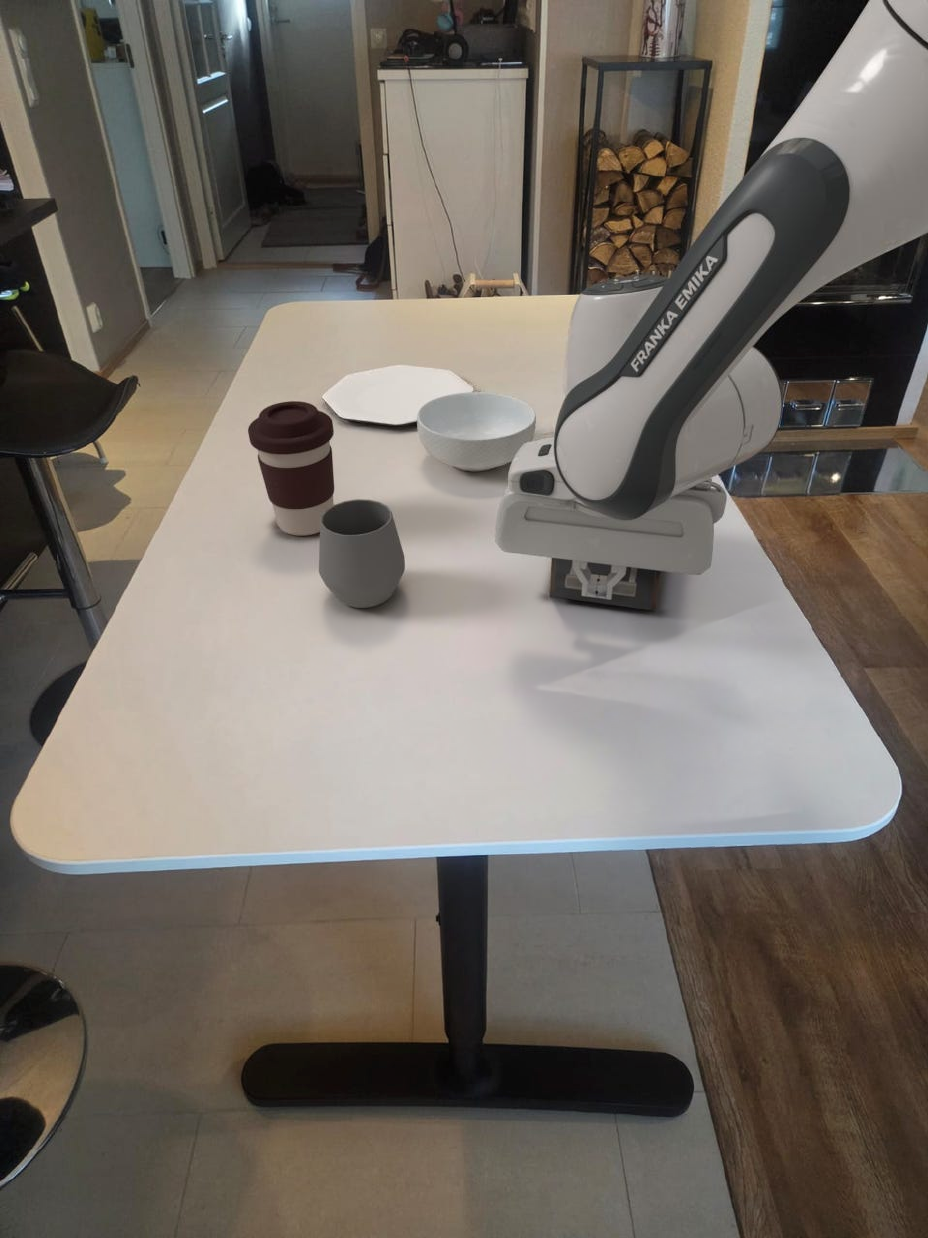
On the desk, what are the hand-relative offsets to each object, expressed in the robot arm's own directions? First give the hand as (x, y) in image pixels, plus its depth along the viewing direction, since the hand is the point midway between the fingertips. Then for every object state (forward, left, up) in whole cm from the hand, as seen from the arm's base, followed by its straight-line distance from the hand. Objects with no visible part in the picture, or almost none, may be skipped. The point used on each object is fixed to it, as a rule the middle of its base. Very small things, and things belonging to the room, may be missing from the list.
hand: (597, 594), depth 79 cm
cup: (+26, -2, -6) cm, 27 cm away
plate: (+40, -55, -6) cm, 68 cm away
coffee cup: (+39, -15, -6) cm, 42 cm away
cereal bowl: (+22, -37, -6) cm, 43 cm away
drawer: (0, -9, -5) cm, 10 cm away
